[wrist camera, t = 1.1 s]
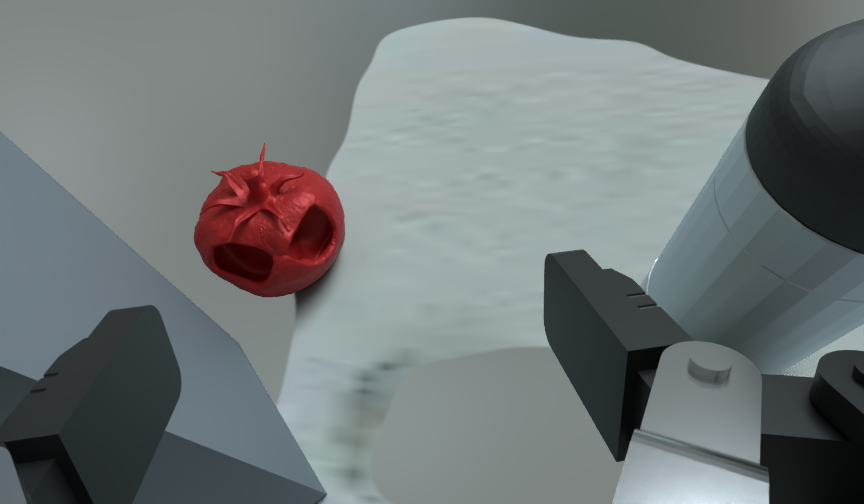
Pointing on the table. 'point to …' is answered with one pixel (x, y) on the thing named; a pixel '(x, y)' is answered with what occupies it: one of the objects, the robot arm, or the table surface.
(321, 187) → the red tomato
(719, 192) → the robot arm
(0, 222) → the grey and brown cartons
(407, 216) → the table surface
